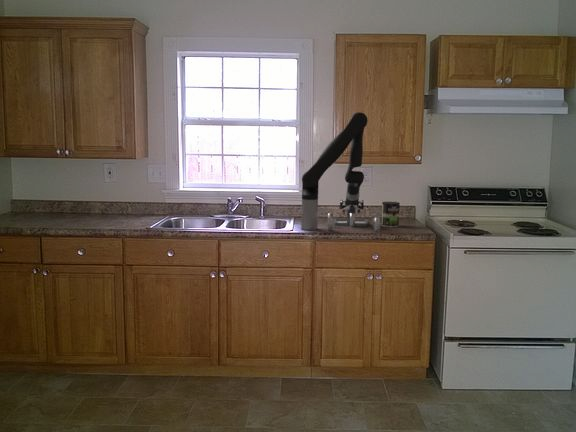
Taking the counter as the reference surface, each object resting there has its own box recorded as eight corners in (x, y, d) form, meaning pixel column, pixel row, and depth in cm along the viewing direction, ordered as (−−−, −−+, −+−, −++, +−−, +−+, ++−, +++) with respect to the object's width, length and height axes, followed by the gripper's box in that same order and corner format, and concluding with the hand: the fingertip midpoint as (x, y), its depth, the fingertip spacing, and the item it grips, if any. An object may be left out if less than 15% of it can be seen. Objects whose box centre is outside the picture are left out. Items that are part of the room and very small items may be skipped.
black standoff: (347, 223, 332) (347, 207, 331) (346, 222, 337) (347, 206, 336) (355, 223, 332) (356, 207, 331) (354, 222, 337) (355, 206, 336)
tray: (335, 225, 327) (335, 222, 326) (334, 220, 344) (334, 218, 344) (368, 226, 325) (368, 223, 325) (366, 221, 343) (366, 219, 343)
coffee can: (401, 227, 324) (402, 203, 322) (385, 227, 322) (386, 203, 319) (394, 224, 334) (395, 201, 332) (378, 224, 331) (379, 201, 329)
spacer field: (327, 231, 308) (328, 217, 306) (327, 225, 325) (327, 212, 324) (379, 232, 306) (380, 217, 305) (376, 226, 324) (377, 213, 322)
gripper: (364, 190, 324) (362, 207, 337) (340, 190, 325) (339, 207, 338) (365, 200, 319) (362, 217, 332) (340, 200, 320) (339, 216, 333)
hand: (351, 212), depth 335 cm, fingers open, 8 cm apart
